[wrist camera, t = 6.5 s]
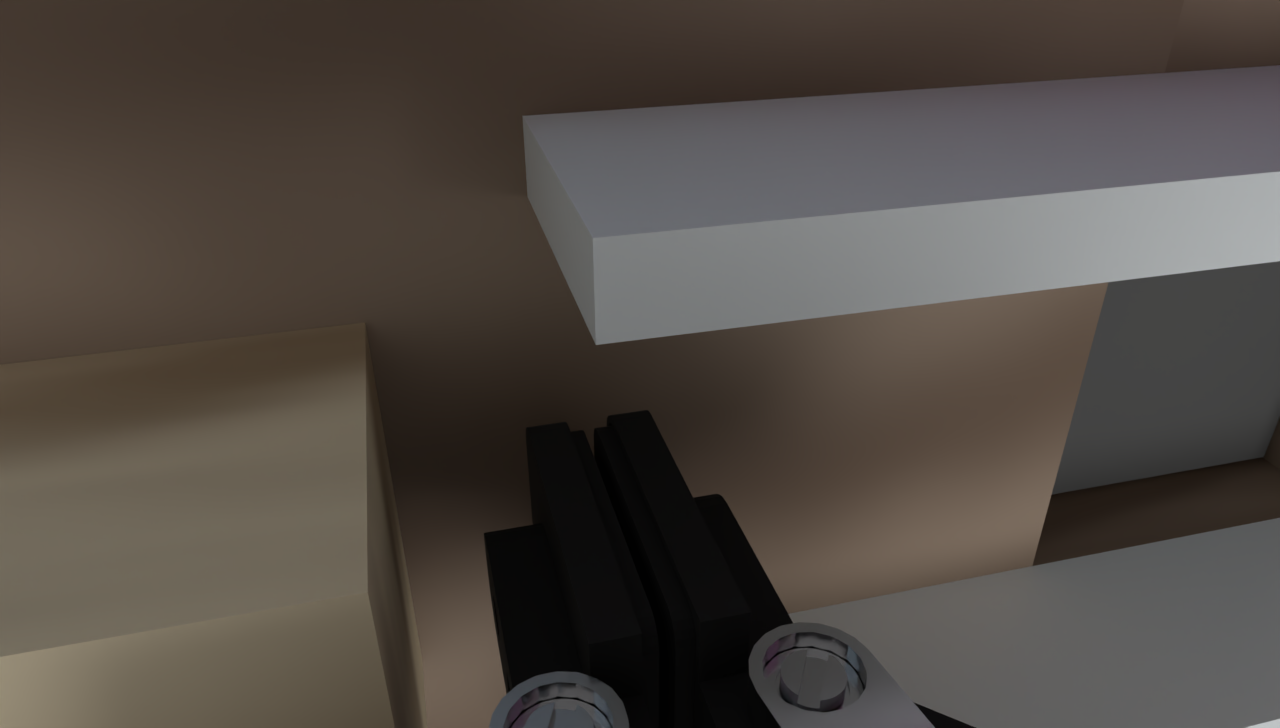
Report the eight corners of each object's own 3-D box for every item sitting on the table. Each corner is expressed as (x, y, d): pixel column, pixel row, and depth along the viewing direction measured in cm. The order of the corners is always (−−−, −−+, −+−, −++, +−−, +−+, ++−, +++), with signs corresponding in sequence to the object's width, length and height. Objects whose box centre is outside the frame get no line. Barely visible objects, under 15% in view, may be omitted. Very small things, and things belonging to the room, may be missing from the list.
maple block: (-290, 398, 10) (-740, 787, 6) (365, 322, 12) (367, 592, 8) (-81, 757, 13) (-286, 1188, 9) (422, 660, 15) (447, 990, 11)
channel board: (-345, -15, 10) (-1059, 136, 5) (1505, -71, 16) (2046, -27, 11) (38, 775, 16) (-106, 1192, 11) (1255, 533, 22) (1520, 739, 17)
